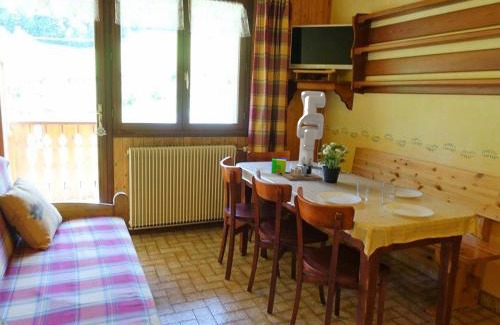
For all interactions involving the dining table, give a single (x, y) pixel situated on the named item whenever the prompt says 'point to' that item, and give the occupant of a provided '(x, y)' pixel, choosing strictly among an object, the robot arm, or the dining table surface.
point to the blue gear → (305, 170)
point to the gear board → (300, 175)
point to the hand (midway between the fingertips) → (306, 172)
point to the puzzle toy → (278, 165)
